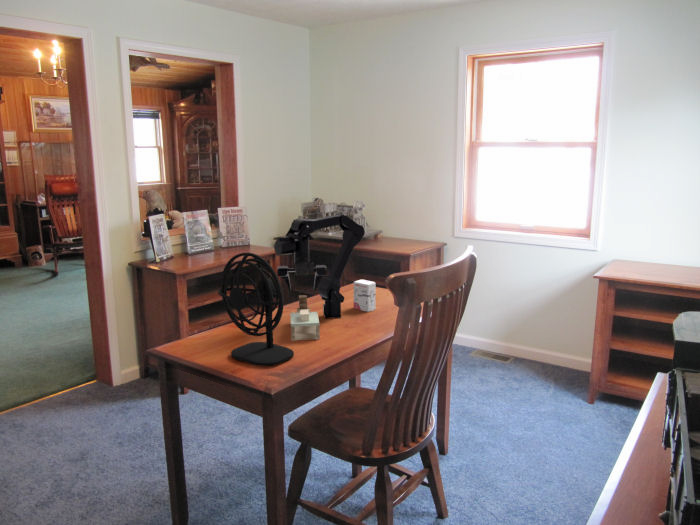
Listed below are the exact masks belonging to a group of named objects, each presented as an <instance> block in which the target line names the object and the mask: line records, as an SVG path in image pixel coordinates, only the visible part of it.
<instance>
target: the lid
mask: <svg viewBox="0 0 700 525" xmlns="http://www.w3.org/2000/svg"><path fill="white" fill-rule="evenodd" d="M297 326H319V327H320V320H319V315H318V311H310V312H309V311H308V309H305V310H300V312H299V313H297V312H290V328H291V327H297Z"/></svg>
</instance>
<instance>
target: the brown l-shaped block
mask: <svg viewBox="0 0 700 525" xmlns="http://www.w3.org/2000/svg"><path fill="white" fill-rule="evenodd" d="M298 308H299V309H300V310H305V309H307V308H308V295H306V294H305V295H304V294H303V295H302V294H300V295H298Z"/></svg>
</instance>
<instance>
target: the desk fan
mask: <svg viewBox="0 0 700 525" xmlns="http://www.w3.org/2000/svg"><path fill="white" fill-rule="evenodd" d="M240 257H242V259H241V260H239V261H235V260H236V259H238V258H240ZM248 257H252V258H248ZM247 258H248V259H247ZM234 261H235V262H234ZM253 262H254V263H253ZM255 263H256V264H255ZM244 264H246V265H248V266H250V267H252V268H253V269H250V270H249V271H248V272H247V273H246V274H245V273H242V270H243V267H244ZM234 266H235V268H234V269H233V271H232V274H231V275H230V276H229V277H228V274H229V272H230V271H231V270H232V268H233V267H234ZM262 266H263V267H264V268H265V269H263V267H262ZM223 268H224V269H223V271H222V274H221V281H220V288H219V289H218V292H217V293H218V295H219V296H220V297H221V299H222V302H223V306H224V308H225V311H226V313H227V315H228V317H229V318H230V320H231V321H232V322H233V324H234V325H235V326H236V327H237V328H238V330H241V332H243V333H244V334H247V335H249V336H251V337H263V336H265V339H266V341H253V342H249V343H246V344H243V345H240V346H239V347H236V348H234V349H232V350H231V351H230V356H231V357H232V358H233V359H235V360H237V361H240V362H244V363H246V364H247V363H248V364H250V365H253V366H258V367H271V366H272V367H273V366H276V365H280V364H282V363H284V362H286V361H289V360H290V359H292V358H293V357H294V355H295V353H294V352H295V351H294V350H293V349H292V348H290V347H286V346H284V345H283V346H282V345H279V344H275V343H274V330H275V329H276V328H277V327H278V325H279V323H280V322H281V319H282V317H283V316H282V315H283V313H284V306H285V304H284V302H285V301H284V300H285V298H284V292H283V289H282V285H281V282H280V279H279V276H277V272H275V269H274V268H273V267H272V265H271V264H270V263H269V262H268V261H267V260H266V259H264V257H262V256H260V255H258V254H257V253H253V252H242V253H238V254H236V255H234V256H232V257H231V258H230V259H229V260H228V261H227V263H226V264H225V266H224V267H223ZM254 271H257V272H258V273H259V275H260V280H258V281H257V283H256V282H254V280H253V279H252V278H251V277H250V274H251V273H252V272H254ZM236 276H237V277H236ZM241 276H242V277H244V280H243V284H242V287H240V284H241V283H240V282H241ZM227 277H228V278H227ZM268 277H269V278H268ZM235 278H236V286H235ZM247 280H248V281H249V282H250V283H251V285H252V286H253V288H249V287H247V286H246V285H247ZM229 282H230V287H228V285H229ZM227 292H229V295H228V294H227ZM247 292H251V293H256V297H257V300H250V299H248V295H247ZM274 300H275V301H274ZM246 304H247V305H248V307H249V308H250V309H251V311H253V312H254V315H253V316H252V317H251V318H249V319H248V318H247V316H245V314H244V313H243V312H242V310H244V308H245V307H246ZM252 305H256V306H257V307H256V309H255V307H253V306H252ZM231 306H232V307H233V308H234V309H235V310H236V312H237V313H238V315H237V314H235V312H234V311H233V310H232V307H231ZM260 307H261V311H260ZM276 309H277V311H276V313H275V315H274V317H273V313H274V311H275V310H276ZM257 315H260V317H259V321H258V324H257V323H255V322H253V320H255V318H256V317H257ZM264 316H265V321H264V322H263V319H264ZM245 323H247V324H248V325H250V326H252V327H249V326H246V325H245ZM263 328H265V331H264V332H259V331H260V330H261V329H263Z"/></svg>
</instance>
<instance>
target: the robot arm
mask: <svg viewBox="0 0 700 525" xmlns="http://www.w3.org/2000/svg"><path fill="white" fill-rule="evenodd" d="M334 226H338V227H339V228H340V230H342V234H341V236H342V237H341V238H342V243H341V246H340V247H339V251H338V253H337V254H336V257H335V260H334V262H333V264H332V267H331V269H330V271H329V274H327V273H328V272H327V271H328V270H327V269H328V268H327V266H326V265H325V264H321V265H320V264H316V265H315V267H314V263H315V262H314V261H310V241H314V240H315V238H314V237H313V236H312V235H311V234H313V233H315V232H316V231H317V230H321V229H325V228H331V227H334ZM365 232H366V231H365V228H364V226H363V225H362V224H358V223H357V222H356V221H354V220H353V219H351V218H350V217H349V216H348V215H347V214H344V213H336V214H333V215H327V216H321V217H317V218H313V219H312V218H296V219H293V220H292V222H291V224H290V227H289V229H288V231H287V233H286V234H285V236H277V237H276V240H275V241H274V245H273V249H274V253H275V254H276V255H277V256H284V255H292V254H293V260H294V261H293V262H294V263H293V264H294V265H293V267H292V268H291V267H288V266H289V265H278V266H277V268H276V275H277V277H280V278H281V279H283V280H284V281H285V283H286V286H287V288H288V290H289V291H288V292H289V294H290V293H292V287H291V281H290V279H291V278H290V274H295V276H297V277H298V276H304V277H305V276H309V274H310V273H314V282H313V293H315V292H316V290H317V292H318V295H319V296H320V297H321V300H322V301H324V303H323V305H322V306H323V307H322V308H323V309H322V313H323V316H324V318H325V319H337V318H338V319H341V318H342V313H341V312H342V303H344V301H345V296H344V295H343V294H342V293H341V292H340V290H341V280H342V276H343V274H344V271H345V269H346V267H347V264H348V263H349V260H350V258H351V255H352V253H353V250H354V248H355V247H356V246H357V245H359V243H361V241H362V240H363V238H364V236H365ZM324 276H326V277H324ZM319 281H320V282H319ZM317 287H318V288H317Z"/></svg>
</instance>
